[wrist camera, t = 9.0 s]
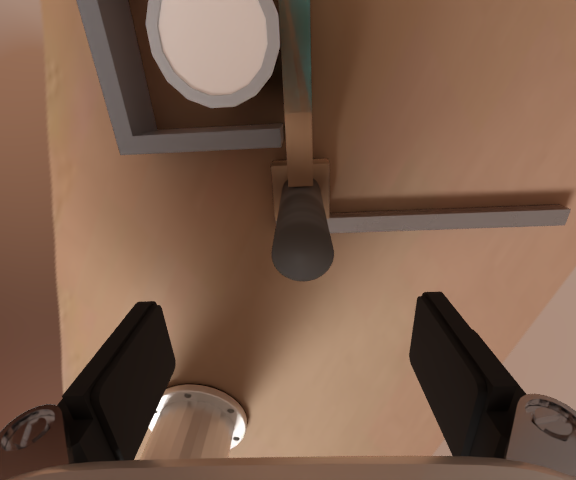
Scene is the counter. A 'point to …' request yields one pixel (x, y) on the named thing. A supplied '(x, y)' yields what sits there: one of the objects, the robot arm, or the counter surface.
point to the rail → (448, 218)
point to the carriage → (299, 160)
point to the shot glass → (214, 47)
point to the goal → (135, 96)
